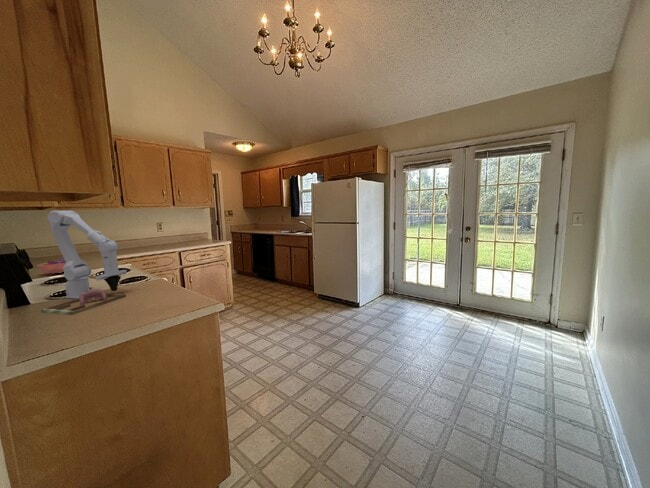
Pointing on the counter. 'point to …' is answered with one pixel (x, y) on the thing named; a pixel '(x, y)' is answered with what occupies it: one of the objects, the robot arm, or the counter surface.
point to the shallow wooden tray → (80, 308)
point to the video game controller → (96, 292)
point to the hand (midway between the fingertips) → (114, 290)
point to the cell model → (52, 266)
